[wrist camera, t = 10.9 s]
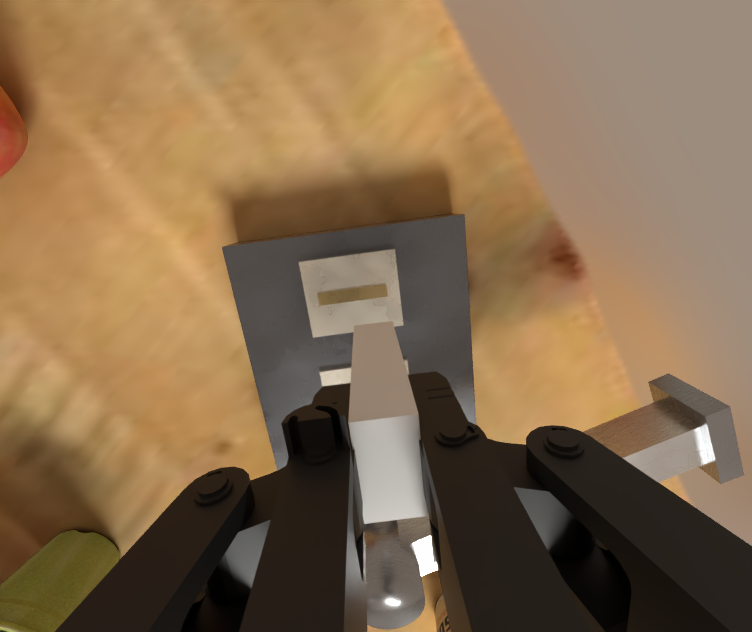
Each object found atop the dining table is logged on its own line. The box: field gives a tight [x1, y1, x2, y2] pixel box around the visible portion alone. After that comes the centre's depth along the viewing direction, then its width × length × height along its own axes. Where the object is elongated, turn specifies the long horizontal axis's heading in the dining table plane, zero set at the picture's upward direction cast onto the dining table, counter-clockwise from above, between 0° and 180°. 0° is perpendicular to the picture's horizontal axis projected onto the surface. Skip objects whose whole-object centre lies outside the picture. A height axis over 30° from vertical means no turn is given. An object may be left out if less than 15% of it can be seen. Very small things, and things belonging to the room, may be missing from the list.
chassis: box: [222, 214, 476, 470], centre depth 25 cm, size 15×20×6 cm
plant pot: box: [0, 530, 119, 632], centre depth 28 cm, size 9×9×9 cm
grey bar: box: [363, 374, 744, 629], centre depth 21 cm, size 21×4×6 cm, turn 115°
